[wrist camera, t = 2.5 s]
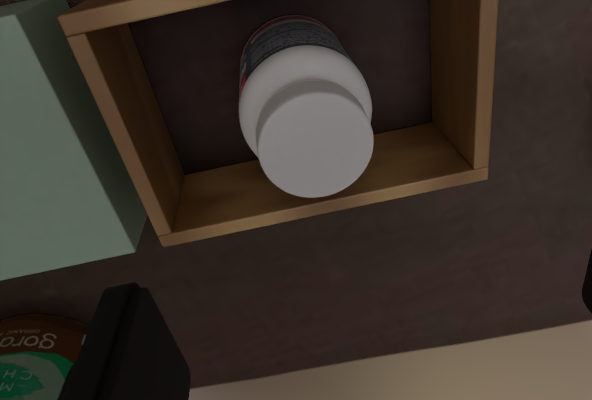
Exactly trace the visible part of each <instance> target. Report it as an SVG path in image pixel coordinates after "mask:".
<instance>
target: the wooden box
mask: <svg viewBox="0 0 592 400" xmlns="http://www.w3.org/2000/svg"><path fill="white" fill-rule="evenodd" d="M225 1H230V0H85V1H84V2H82V3H80V4H78V5H77V6H75V7H73V8H71V9H69V10H68V11H66V12H64V13H62V14H61V15H59V16H58V20H59V22H60V25H61V27H62V29H63V31H64V33H65V35H66V36H68V37H67V40H68V42H69V45H70V47H71V49H72V51H73V53H74V55H75V58H76V60H77V62H78V64H79V66H80V68H81V71H82V73H83V75H84V77H85V79H86V82H87V84H88V86H89V88H90V90H91V92H92V95H93V97H94V99H95V101H96V103H97V105H98V108H99V110H100V112H101V114H102V116H103V118H104V121H105V123H106V125H107V127H108V129H109V132H110V134H111V136H112V138H113V140H114V142H115V145H116V147H117V149H118V151H119V153H120V155H121V158H122V160H123V162H124V164H125V166H126V169H127V171H128V173H129V175H130V177H131V179H132V182H133V184H134V186H135V188H136V190H137V192H138V195H139V197H140V199H141V201H142V203H143V205H144V208H145V210H146V212H147V214H148V216H149V219H150V221H151V223H152V225H153V227H154V229H155V232H156V234H157V235H158V238H159V240H160V242H161V244H162V247H167V246H172V245H177V244H182V243H187V242H191V241H196V240H201V239H206V238H210V237H215V236H220V235H225V234H229V233H234V232H239V231H244V230H248V229H253V228H258V227H263V226H267V225H272V224H277V223H282V222H286V221H291V220H296V219H301V218H305V217H310V216H315V215H320V214H324V213H329V212H334V211H339V210H344V209H348V208H353V207H358V206H363V205H367V204H372V203H377V202H382V201H386V200H391V199H396V198H401V197H405V196H410V195H415V194H420V193H424V192H429V191H434V190H439V189H443V188H448V187H453V186H458V185H462V184H467V183H472V182H477V181H482V180H486V179H488V165H489V148H490V132H491V115H492V98H493V82H494V65H495V49H496V32H497V16H498V0H430V48H431V100H432V122H431V123H426V124H422V125H417V126H412V127H408V128H403V129H398V130H394V131H389V132H384V133H380V134H375V135H373V138H374V145H373V152H372V156H371V158H370V161H369V163H368V165H367V167H366V168H365V170H364V172H363V173H362V174H361V175H360V177H359V178H358V179H357V180H356V181H355V182H353V183H352V184H351V185H350V186H348V187H347V188H345V189H343V190H341V191H339V192H337V193H335V194H332V195H328V196H324V197H317V198H307V197H300V196H296V195H293V194H290V193H287V192H285V191H283V190H282V189H280V188H279V187H277V186H276V185H275V184H274V183H272V182H271V180H270V179H269V178H268V177H267V176H266V174H265V172H264V171H263V169H262V167H261V165H260V161H259V159H258V160H253V161H248V162H244V163H239V164H234V165H230V166H225V167H220V168H216V169H211V170H206V171H202V172H197V173H192V174H188V175H185V173H184V171H183V168H182V165H181V163H180V160H179V157H178V155H177V152H176V149H175V147H174V144H173V142H172V139H171V136H170V134H169V131H168V128H167V126H166V123H165V120H164V118H163V115H162V112H161V110H160V107H159V105H158V102H157V99H156V97H155V94H154V91H153V89H152V86H151V83H150V81H149V78H148V76H147V73H146V70H145V68H144V65H143V62H142V60H141V57H140V54H139V52H138V49H137V46H136V44H135V41H134V39H133V36H132V33H131V31H130V28H129V25H128V23H131V22H135V21H140V20H144V19H149V18H153V17H158V16H162V15H167V14H171V13H176V12H180V11H185V10H189V9H194V8H198V7H203V6H207V5H212V4H216V3H221V2H225Z"/></svg>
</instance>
